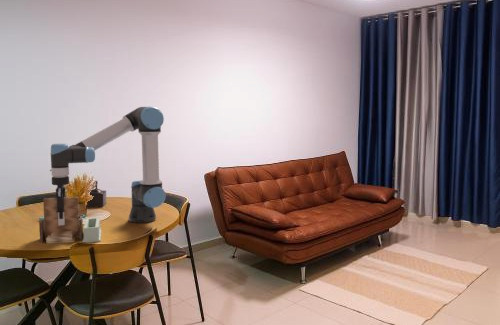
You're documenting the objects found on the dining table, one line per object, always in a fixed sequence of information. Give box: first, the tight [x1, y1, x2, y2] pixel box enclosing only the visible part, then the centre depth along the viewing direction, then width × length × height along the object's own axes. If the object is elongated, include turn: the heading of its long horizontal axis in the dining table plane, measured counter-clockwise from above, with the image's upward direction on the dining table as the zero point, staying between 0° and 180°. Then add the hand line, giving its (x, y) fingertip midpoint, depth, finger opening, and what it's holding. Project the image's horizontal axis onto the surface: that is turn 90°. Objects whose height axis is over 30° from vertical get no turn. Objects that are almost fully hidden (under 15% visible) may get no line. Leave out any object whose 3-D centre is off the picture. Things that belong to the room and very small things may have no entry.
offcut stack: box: [45, 231, 77, 244], centre depth 189 cm, size 12×5×4 cm, turn 106°
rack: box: [38, 216, 84, 244], centre depth 192 cm, size 18×8×10 cm, turn 109°
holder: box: [81, 217, 102, 243], centre depth 197 cm, size 8×19×7 cm, turn 19°
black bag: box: [86, 180, 107, 208], centre depth 260 cm, size 16×11×18 cm
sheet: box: [42, 196, 80, 241], centre depth 192 cm, size 15×2×20 cm, turn 109°
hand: (61, 224), depth 193 cm, fingers closed on sheet, 2 cm apart
